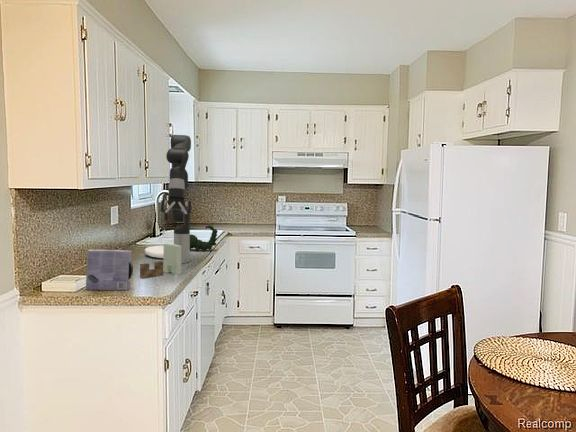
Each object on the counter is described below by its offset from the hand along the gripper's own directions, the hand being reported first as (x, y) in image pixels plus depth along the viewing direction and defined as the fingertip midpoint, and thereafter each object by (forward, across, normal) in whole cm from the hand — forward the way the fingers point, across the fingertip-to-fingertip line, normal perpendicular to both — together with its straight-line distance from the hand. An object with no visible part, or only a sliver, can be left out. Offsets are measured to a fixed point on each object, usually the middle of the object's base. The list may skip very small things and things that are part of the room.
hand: (175, 221), depth 220 cm
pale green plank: (+23, -3, -26) cm, 35 cm away
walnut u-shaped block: (+26, +8, -20) cm, 33 cm away
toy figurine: (+6, -30, -91) cm, 96 cm away
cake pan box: (+32, +28, 0) cm, 43 cm away
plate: (+11, -7, -76) cm, 77 cm away
